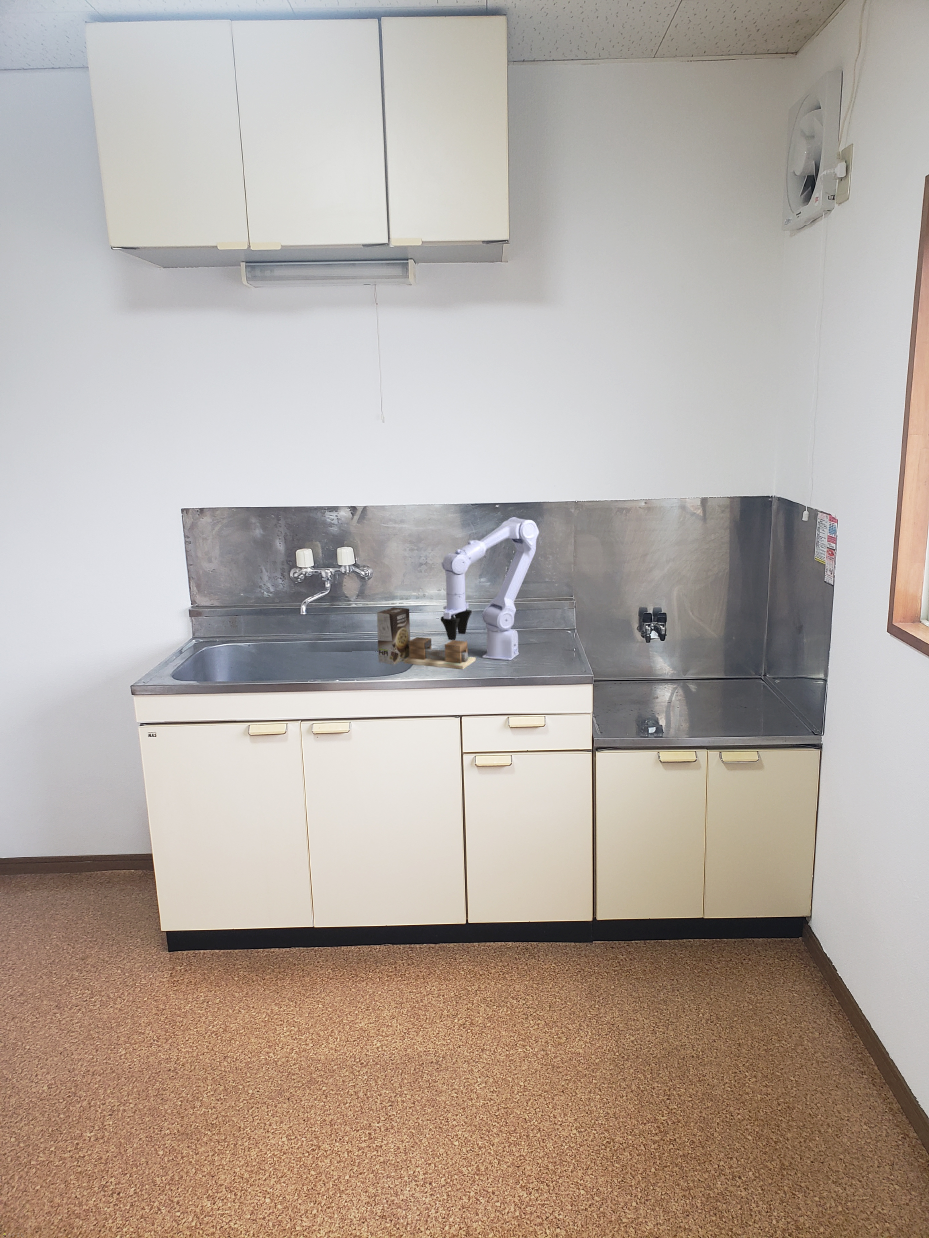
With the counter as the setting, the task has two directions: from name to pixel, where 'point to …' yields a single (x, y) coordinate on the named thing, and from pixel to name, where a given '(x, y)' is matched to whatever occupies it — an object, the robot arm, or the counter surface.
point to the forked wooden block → (454, 651)
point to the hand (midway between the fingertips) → (457, 636)
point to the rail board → (438, 663)
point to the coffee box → (393, 635)
